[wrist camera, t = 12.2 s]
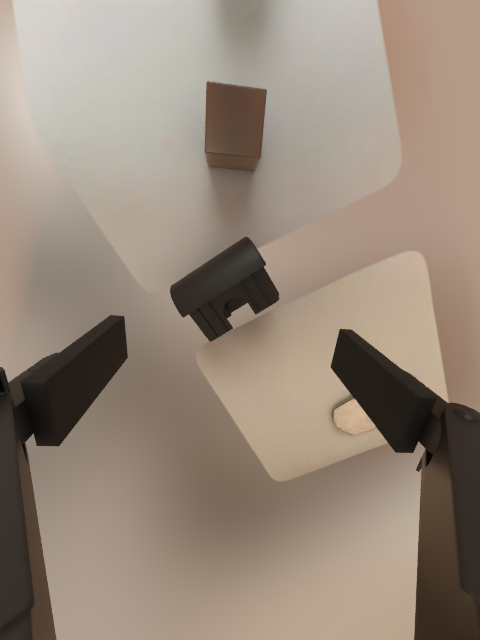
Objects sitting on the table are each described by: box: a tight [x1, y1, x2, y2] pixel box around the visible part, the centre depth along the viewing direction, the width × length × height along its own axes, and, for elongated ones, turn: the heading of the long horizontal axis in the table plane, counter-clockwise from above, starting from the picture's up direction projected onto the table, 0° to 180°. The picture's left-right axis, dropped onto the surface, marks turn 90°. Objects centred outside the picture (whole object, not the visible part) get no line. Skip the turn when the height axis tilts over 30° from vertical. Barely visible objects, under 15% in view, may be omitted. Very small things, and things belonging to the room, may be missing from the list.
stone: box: [333, 399, 375, 435], centre depth 38 cm, size 8×14×2 cm, turn 115°
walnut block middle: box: [205, 81, 267, 171], centre depth 23 cm, size 5×5×5 cm
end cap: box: [170, 237, 279, 341], centre depth 27 cm, size 10×7×7 cm
